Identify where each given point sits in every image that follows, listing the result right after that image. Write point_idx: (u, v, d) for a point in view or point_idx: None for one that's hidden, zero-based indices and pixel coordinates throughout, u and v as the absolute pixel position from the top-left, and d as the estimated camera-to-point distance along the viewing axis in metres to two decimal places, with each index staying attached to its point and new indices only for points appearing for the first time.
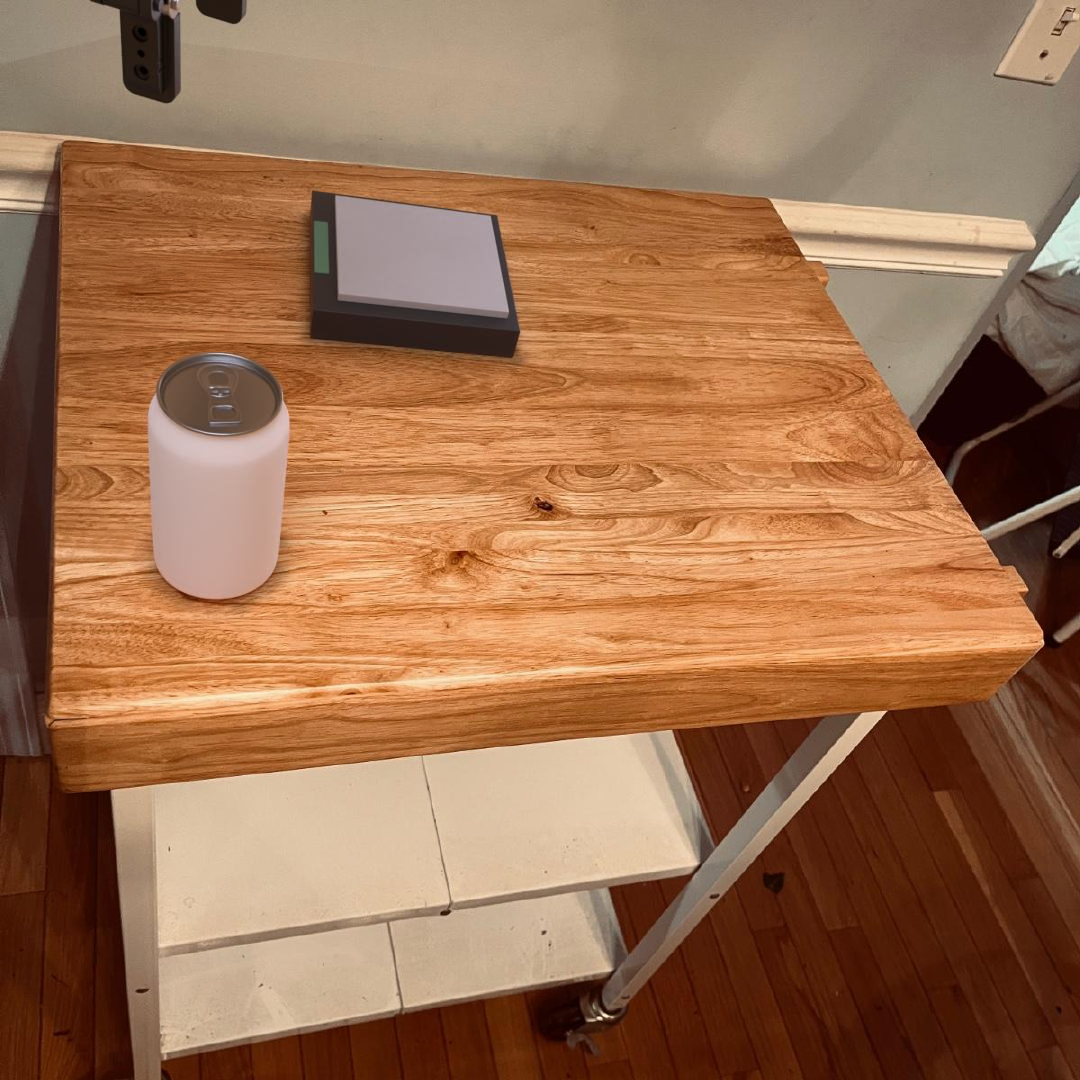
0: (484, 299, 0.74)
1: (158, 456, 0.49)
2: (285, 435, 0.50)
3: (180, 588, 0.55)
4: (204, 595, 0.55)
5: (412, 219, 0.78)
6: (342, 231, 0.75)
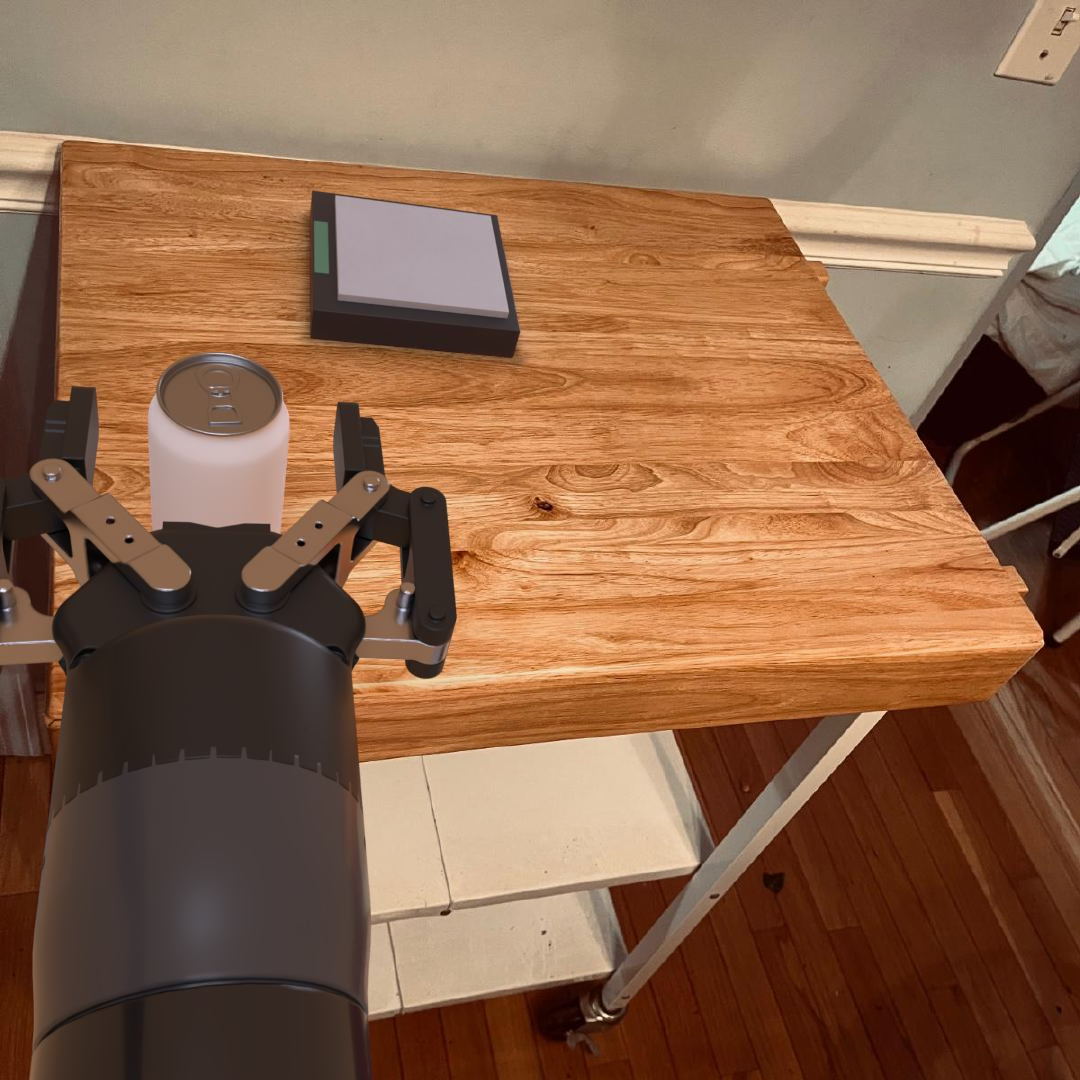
0: (484, 299, 0.74)
1: (158, 456, 0.49)
2: (285, 435, 0.50)
3: None
4: None
5: (412, 219, 0.78)
6: (342, 231, 0.75)
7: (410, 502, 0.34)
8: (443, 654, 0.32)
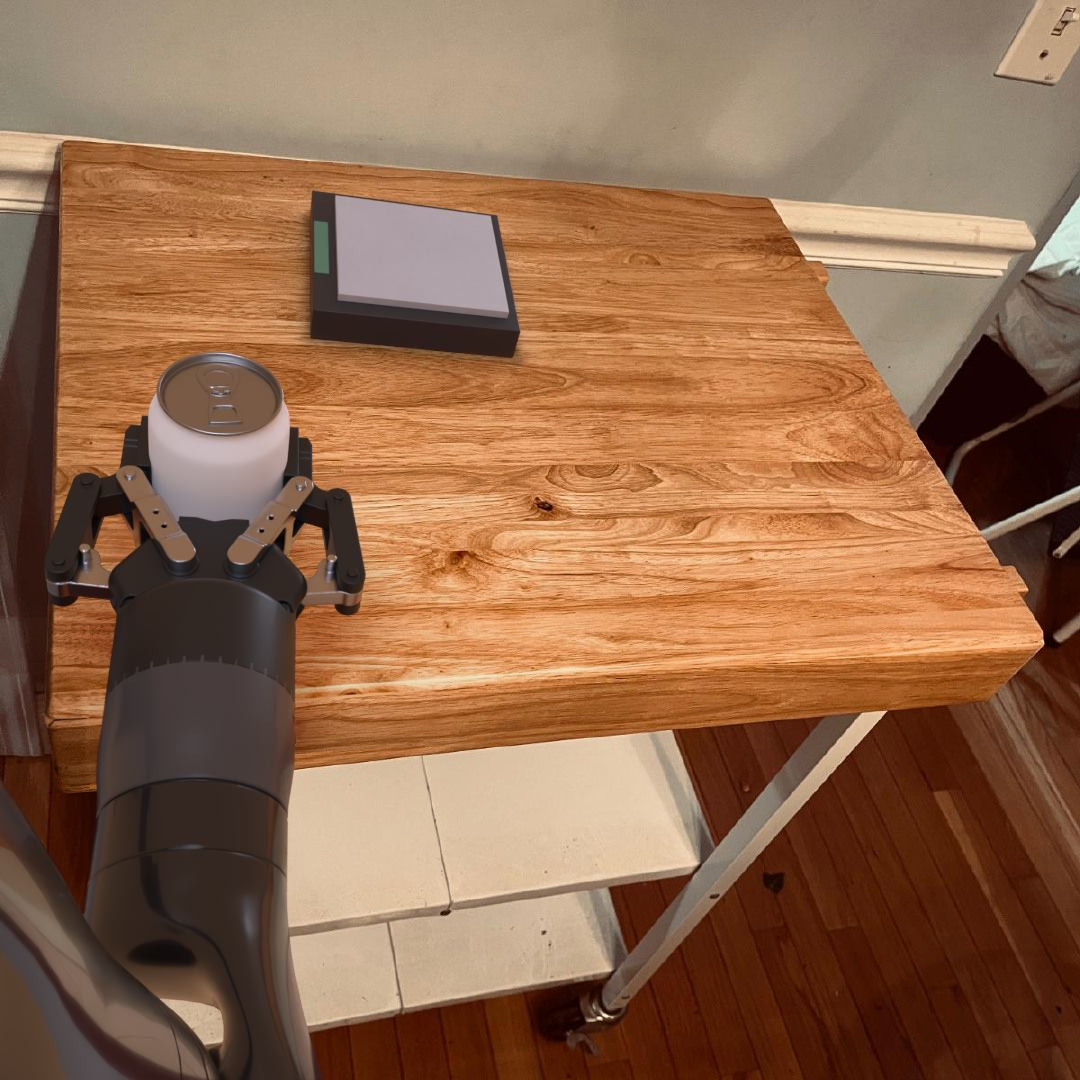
0: (484, 299, 0.74)
1: (159, 455, 0.49)
2: (285, 435, 0.50)
3: None
4: None
5: (412, 219, 0.78)
6: (342, 231, 0.75)
7: (326, 498, 0.52)
8: (359, 598, 0.50)
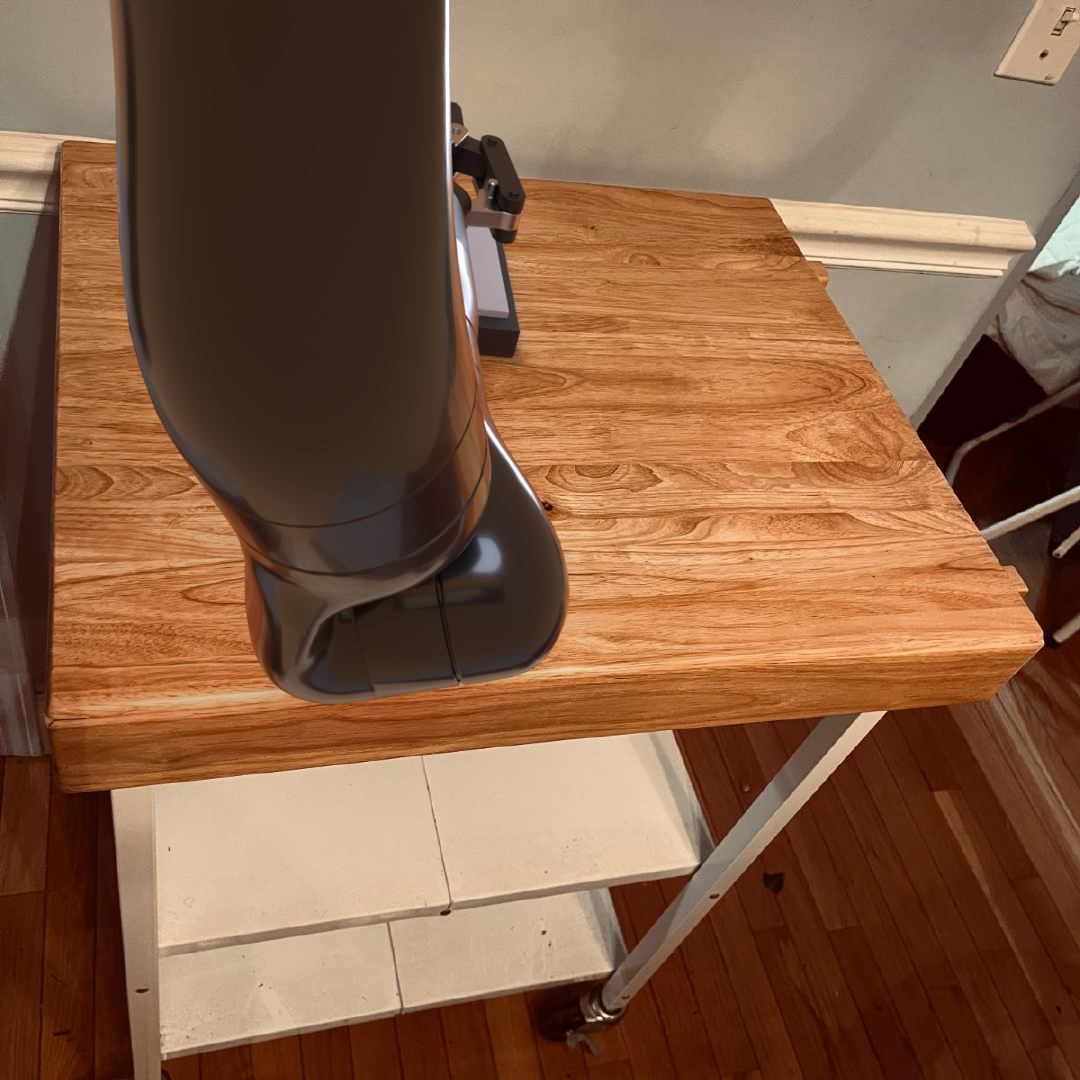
0: (484, 299, 0.74)
1: None
2: None
3: None
4: None
5: None
6: None
7: (481, 141, 0.54)
8: (517, 223, 0.52)
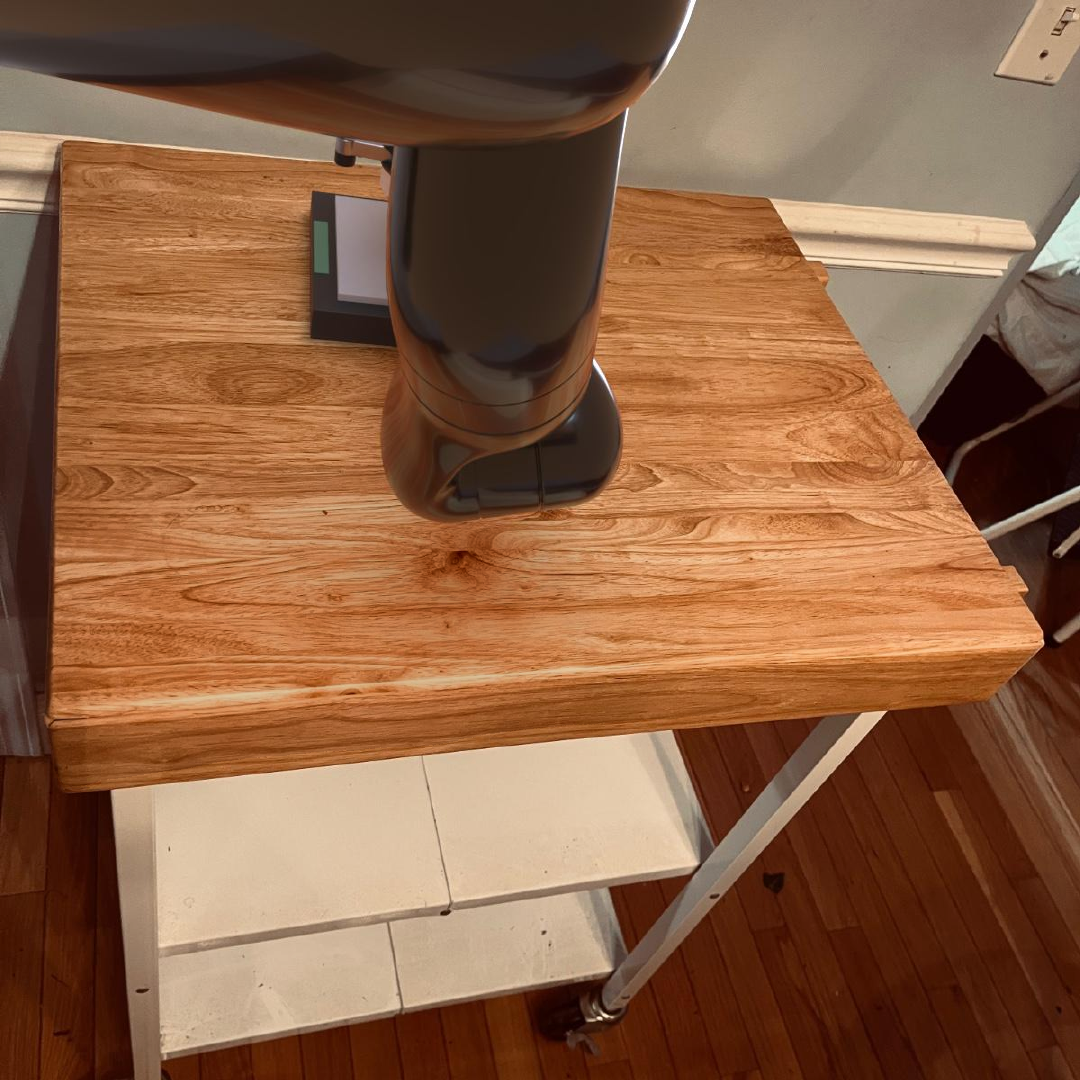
0: None
1: None
2: None
3: None
4: None
5: None
6: (342, 231, 0.75)
7: None
8: None
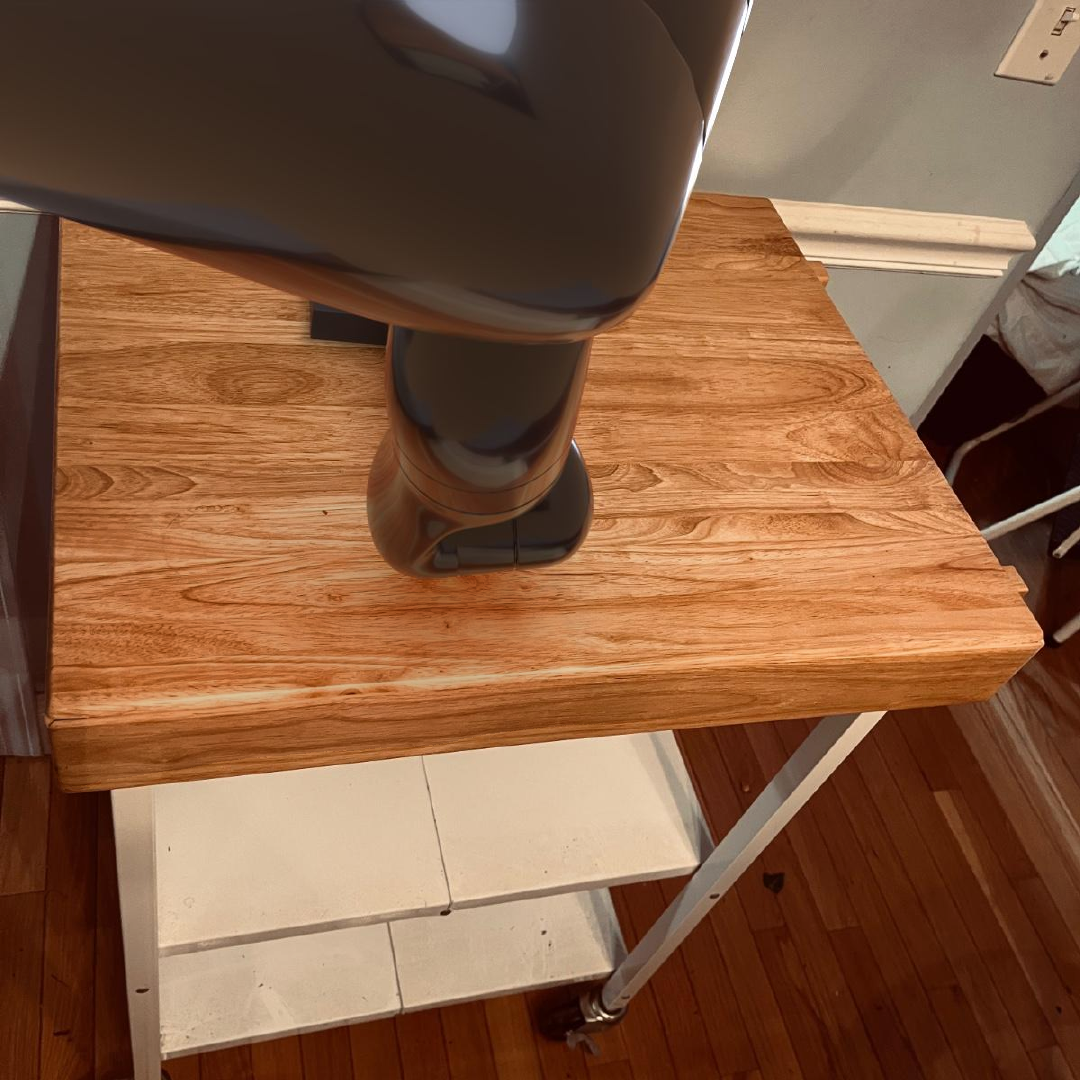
0: None
1: None
2: None
3: None
4: None
5: None
6: None
7: None
8: None
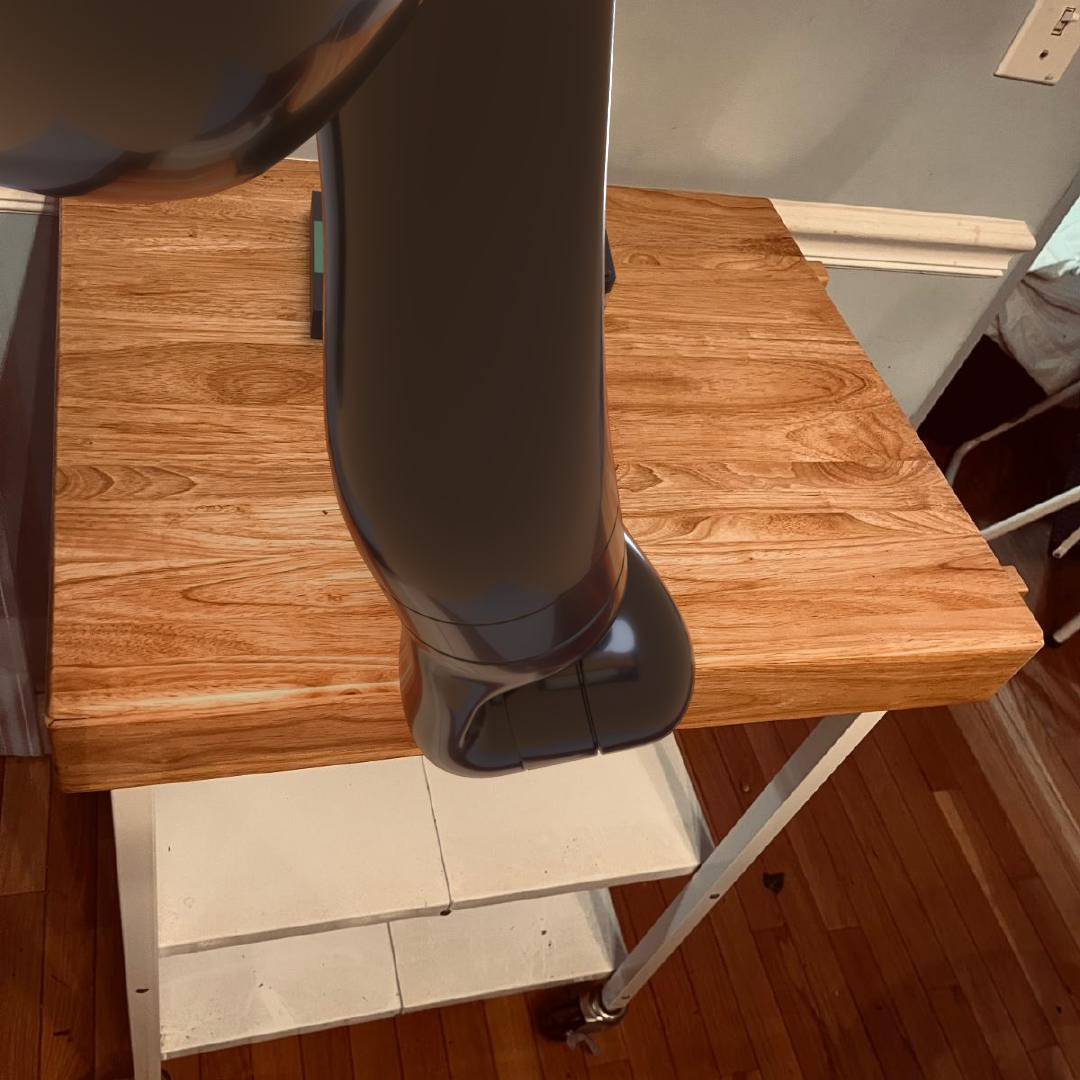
0: None
1: None
2: None
3: None
4: None
5: None
6: None
7: None
8: (605, 301, 0.55)
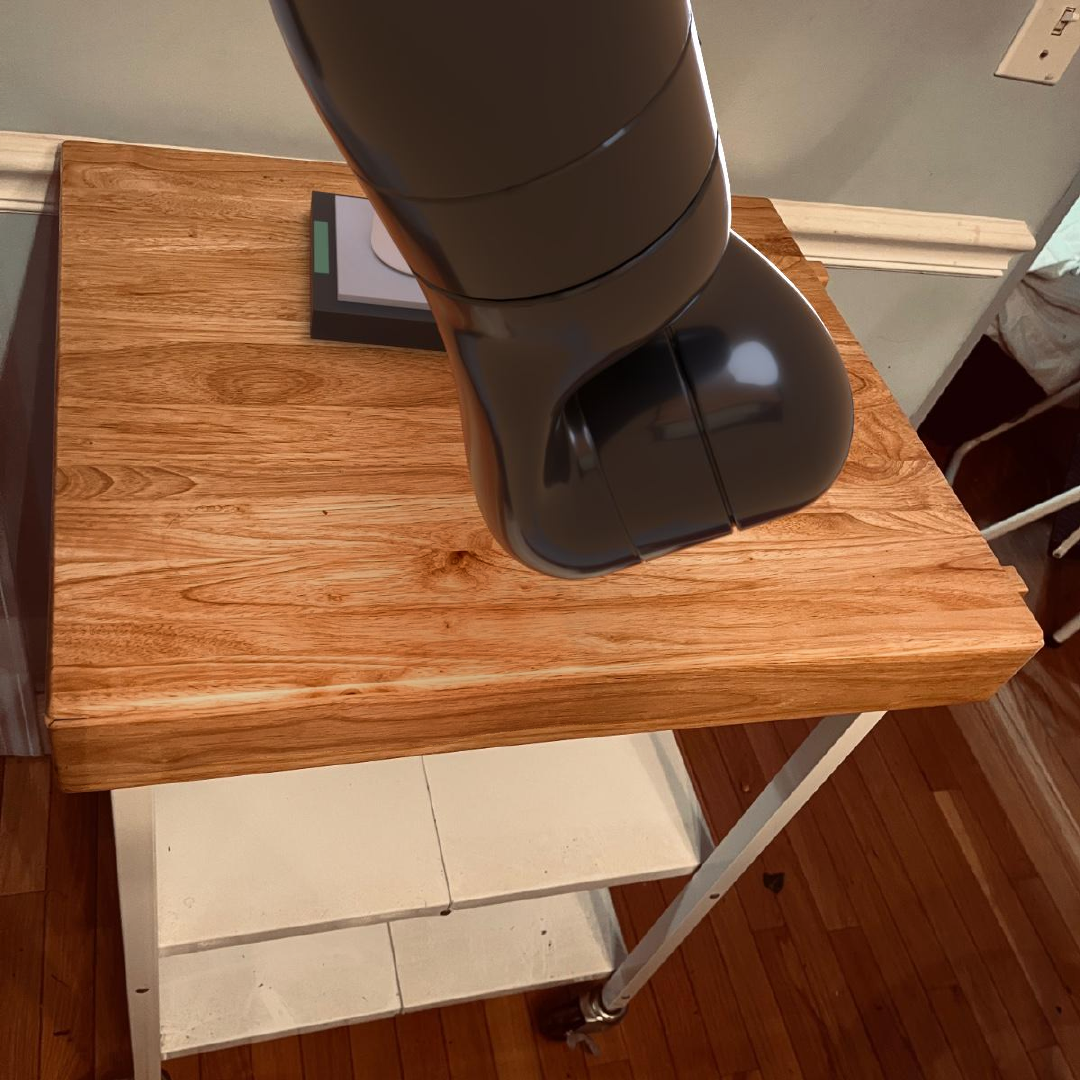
0: None
1: None
2: None
3: (395, 265, 0.73)
4: None
5: None
6: (342, 231, 0.75)
7: None
8: None
